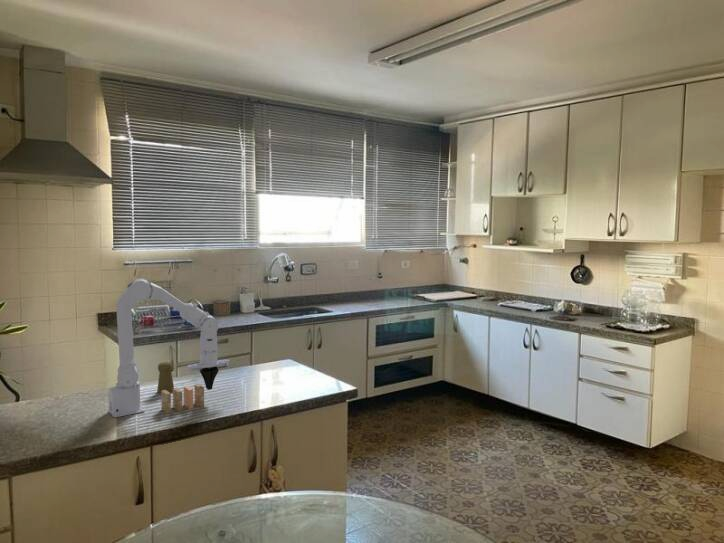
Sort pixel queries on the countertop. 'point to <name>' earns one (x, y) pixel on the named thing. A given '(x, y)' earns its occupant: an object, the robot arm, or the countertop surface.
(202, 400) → the end domino
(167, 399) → the domino
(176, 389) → the middle domino
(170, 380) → the cork
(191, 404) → the domino
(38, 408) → the countertop surface
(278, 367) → the countertop surface
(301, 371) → the countertop surface
